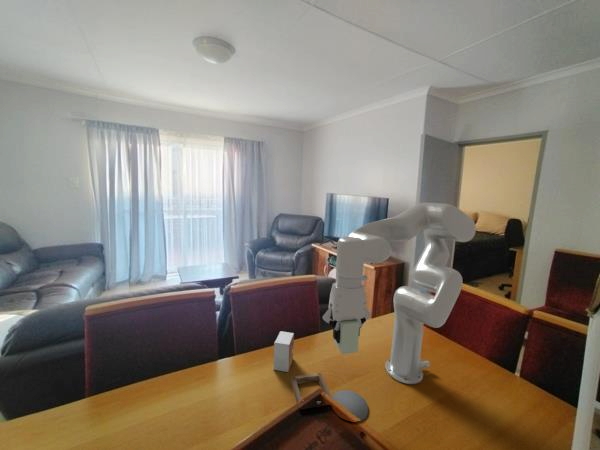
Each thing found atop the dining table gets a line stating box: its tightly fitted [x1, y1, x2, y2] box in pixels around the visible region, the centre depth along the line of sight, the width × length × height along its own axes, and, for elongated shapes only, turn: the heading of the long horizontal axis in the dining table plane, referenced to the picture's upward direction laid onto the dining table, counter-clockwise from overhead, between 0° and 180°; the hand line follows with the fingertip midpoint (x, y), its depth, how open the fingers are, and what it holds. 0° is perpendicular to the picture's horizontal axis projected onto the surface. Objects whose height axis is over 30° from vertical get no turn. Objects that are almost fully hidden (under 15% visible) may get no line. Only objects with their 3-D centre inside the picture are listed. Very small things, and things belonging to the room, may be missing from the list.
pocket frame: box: [290, 372, 333, 405], centre depth 81 cm, size 10×11×2 cm
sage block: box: [333, 320, 360, 355], centre depth 75 cm, size 5×6×9 cm
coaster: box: [331, 389, 369, 421], centre depth 77 cm, size 11×11×1 cm
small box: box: [272, 330, 295, 373], centre depth 93 cm, size 8×6×10 cm
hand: (346, 338), depth 75 cm, fingers closed on sage block, 5 cm apart
